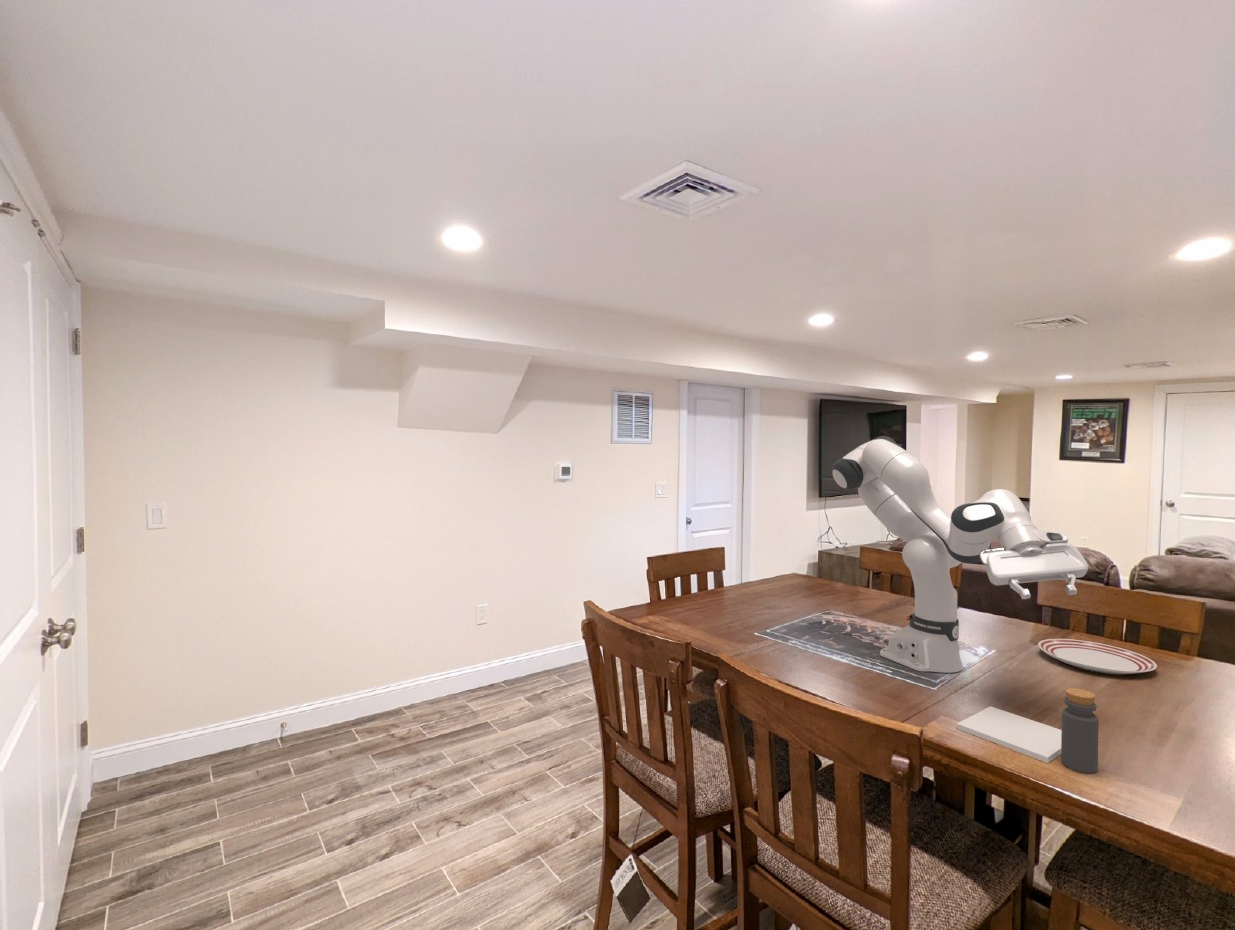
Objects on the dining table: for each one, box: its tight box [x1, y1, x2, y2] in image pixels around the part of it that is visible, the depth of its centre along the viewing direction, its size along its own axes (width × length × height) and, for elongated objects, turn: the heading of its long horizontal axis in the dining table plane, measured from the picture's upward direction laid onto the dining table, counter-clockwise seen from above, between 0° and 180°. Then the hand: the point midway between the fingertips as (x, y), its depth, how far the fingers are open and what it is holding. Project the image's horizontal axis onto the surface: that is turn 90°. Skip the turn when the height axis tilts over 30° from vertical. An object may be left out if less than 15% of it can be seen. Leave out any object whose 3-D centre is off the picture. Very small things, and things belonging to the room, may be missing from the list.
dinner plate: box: [1037, 638, 1158, 675], centre depth 176 cm, size 27×27×3 cm
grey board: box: [956, 706, 1062, 764], centre depth 133 cm, size 18×16×1 cm
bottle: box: [1060, 687, 1100, 775], centre depth 119 cm, size 6×6×15 cm
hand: (1049, 595), depth 135 cm, fingers open, 8 cm apart
